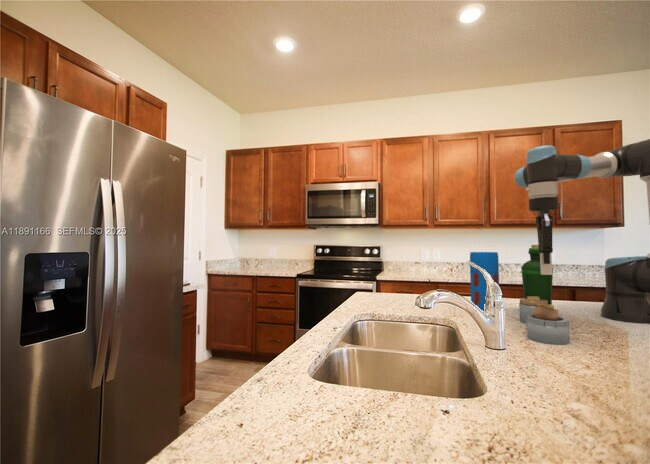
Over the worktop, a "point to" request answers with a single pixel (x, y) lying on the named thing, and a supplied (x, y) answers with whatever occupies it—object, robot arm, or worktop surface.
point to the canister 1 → (529, 306)
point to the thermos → (477, 279)
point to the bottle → (536, 277)
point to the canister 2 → (548, 330)
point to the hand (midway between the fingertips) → (546, 274)
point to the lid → (546, 312)
